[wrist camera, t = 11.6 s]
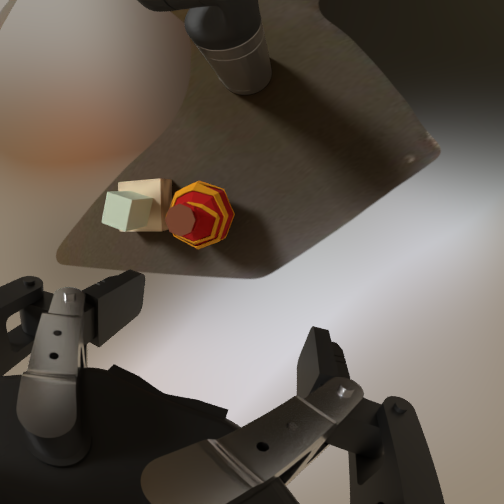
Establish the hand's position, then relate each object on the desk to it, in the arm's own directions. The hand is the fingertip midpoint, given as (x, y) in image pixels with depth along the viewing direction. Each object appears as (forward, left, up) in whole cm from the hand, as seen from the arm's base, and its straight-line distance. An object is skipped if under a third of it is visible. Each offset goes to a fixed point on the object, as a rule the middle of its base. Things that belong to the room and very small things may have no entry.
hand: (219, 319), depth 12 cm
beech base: (+2, -23, -36) cm, 43 cm away
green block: (+2, -23, -31) cm, 39 cm away
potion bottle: (0, -11, -36) cm, 38 cm away
